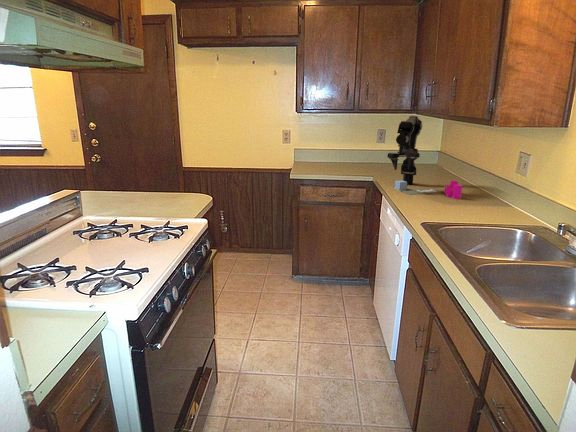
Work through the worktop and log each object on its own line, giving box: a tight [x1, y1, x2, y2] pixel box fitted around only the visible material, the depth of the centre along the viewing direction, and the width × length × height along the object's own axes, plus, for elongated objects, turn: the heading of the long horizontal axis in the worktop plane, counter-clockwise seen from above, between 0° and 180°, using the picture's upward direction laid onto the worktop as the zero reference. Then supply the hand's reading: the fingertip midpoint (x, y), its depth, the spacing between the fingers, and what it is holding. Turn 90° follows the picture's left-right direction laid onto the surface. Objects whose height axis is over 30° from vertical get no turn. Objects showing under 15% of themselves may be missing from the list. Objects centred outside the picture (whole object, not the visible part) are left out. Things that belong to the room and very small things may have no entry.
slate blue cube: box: [394, 179, 408, 191], centre depth 236 cm, size 5×5×5 cm
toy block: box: [443, 180, 463, 200], centre depth 221 cm, size 15×6×8 cm, turn 167°
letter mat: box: [400, 188, 443, 195], centre depth 231 cm, size 9×23×1 cm, turn 108°
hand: (402, 169), depth 233 cm, fingers open, 9 cm apart
